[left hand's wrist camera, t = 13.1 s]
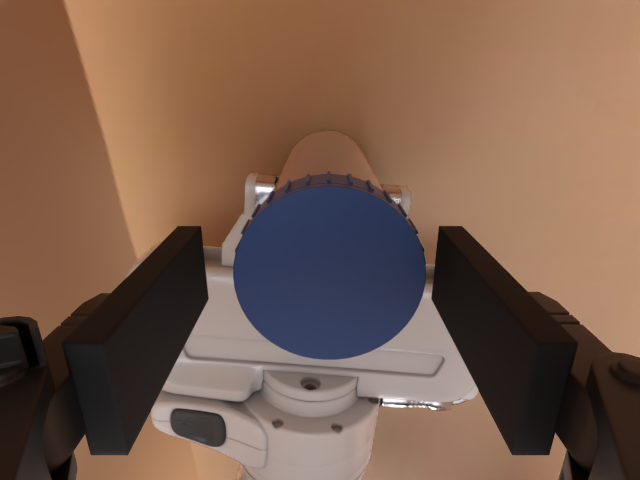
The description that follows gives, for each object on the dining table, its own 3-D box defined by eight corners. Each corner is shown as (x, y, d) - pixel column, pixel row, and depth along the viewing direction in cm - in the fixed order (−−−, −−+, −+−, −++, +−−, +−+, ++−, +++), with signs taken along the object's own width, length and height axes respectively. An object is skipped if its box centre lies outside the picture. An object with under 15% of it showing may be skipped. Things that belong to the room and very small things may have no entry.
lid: (206, 267, 14) (191, 291, 13) (317, 130, 12) (316, 137, 11) (337, 360, 15) (338, 392, 14) (453, 248, 14) (471, 270, 12)
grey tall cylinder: (270, 176, 27) (209, 283, 13) (321, 112, 26) (318, 152, 11) (331, 225, 29) (338, 372, 14) (383, 166, 27) (451, 265, 13)
